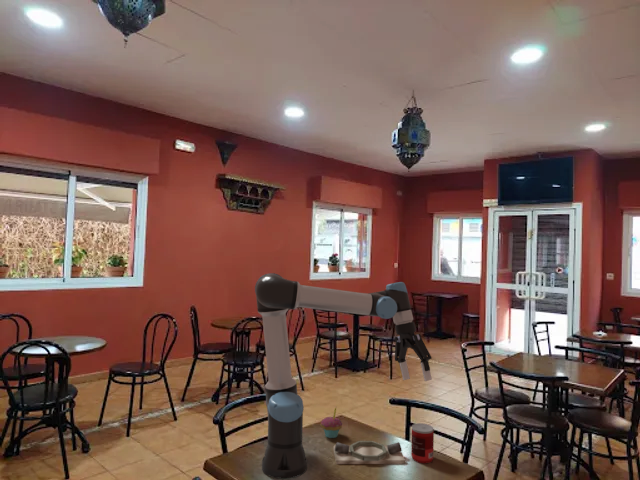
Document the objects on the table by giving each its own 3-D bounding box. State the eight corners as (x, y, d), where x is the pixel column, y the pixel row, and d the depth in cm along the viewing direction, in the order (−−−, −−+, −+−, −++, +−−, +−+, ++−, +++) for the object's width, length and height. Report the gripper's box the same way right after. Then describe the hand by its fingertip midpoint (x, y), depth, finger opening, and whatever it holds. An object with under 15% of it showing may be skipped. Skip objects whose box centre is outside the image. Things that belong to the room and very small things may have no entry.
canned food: (431, 454, 162) (431, 423, 162) (435, 464, 154) (435, 432, 154) (410, 452, 162) (410, 422, 163) (412, 463, 154) (413, 431, 155)
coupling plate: (336, 464, 152) (336, 450, 152) (333, 448, 165) (333, 435, 165) (405, 464, 153) (405, 450, 154) (397, 448, 166) (397, 435, 166)
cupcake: (345, 434, 178) (346, 404, 178) (335, 442, 170) (335, 410, 171) (327, 429, 182) (327, 400, 182) (316, 436, 175) (316, 406, 175)
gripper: (432, 317, 160) (446, 378, 156) (394, 323, 182) (406, 376, 178) (415, 321, 156) (429, 383, 152) (378, 327, 178) (390, 381, 174)
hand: (417, 379), depth 165 cm, fingers open, 13 cm apart
